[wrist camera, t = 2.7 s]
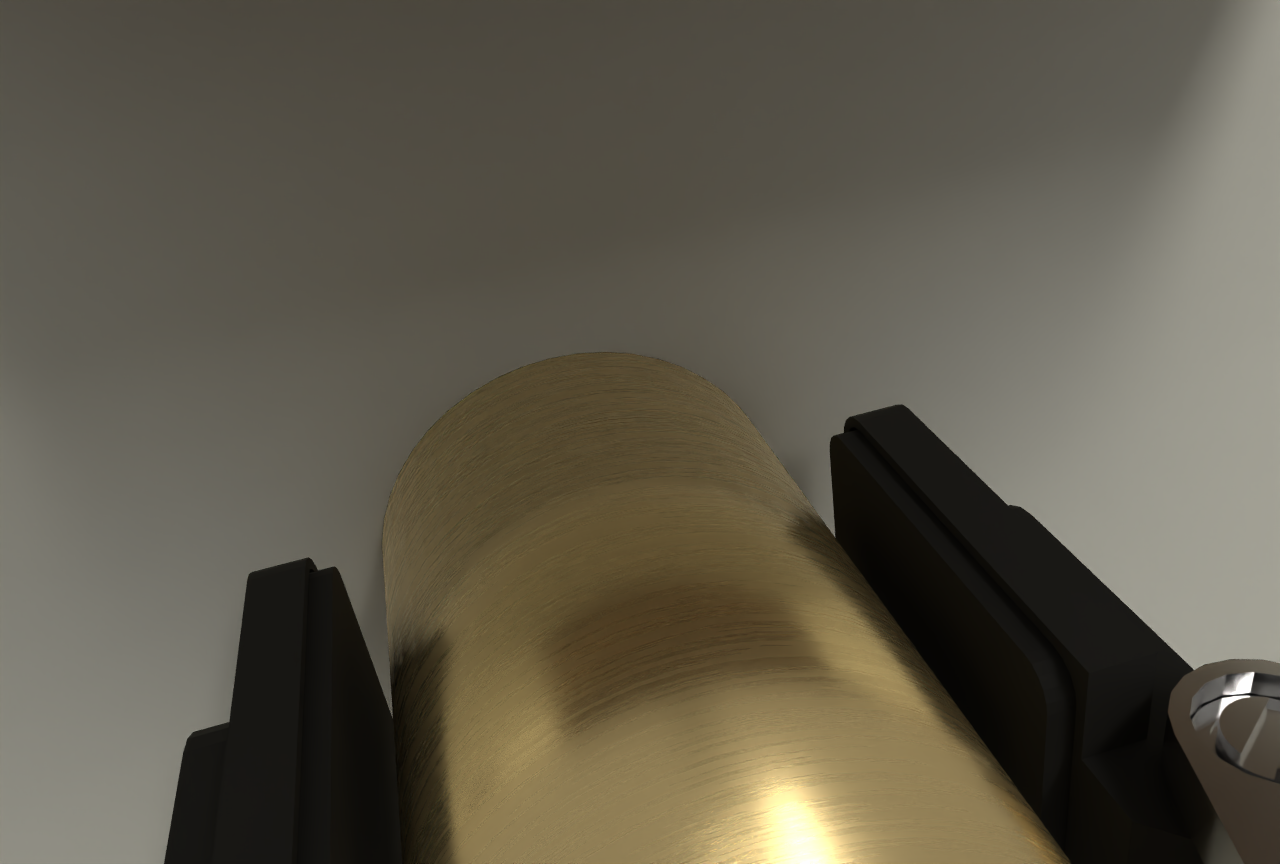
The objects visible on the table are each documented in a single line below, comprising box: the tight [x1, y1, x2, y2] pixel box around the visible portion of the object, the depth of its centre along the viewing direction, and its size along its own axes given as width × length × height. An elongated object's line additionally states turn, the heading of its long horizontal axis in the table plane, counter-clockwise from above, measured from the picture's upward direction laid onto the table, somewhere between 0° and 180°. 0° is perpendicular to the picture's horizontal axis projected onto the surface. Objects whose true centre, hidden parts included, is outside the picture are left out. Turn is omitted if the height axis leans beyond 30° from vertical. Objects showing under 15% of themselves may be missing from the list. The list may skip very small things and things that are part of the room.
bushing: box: [382, 352, 1072, 864], centre depth 9 cm, size 4×4×7 cm
